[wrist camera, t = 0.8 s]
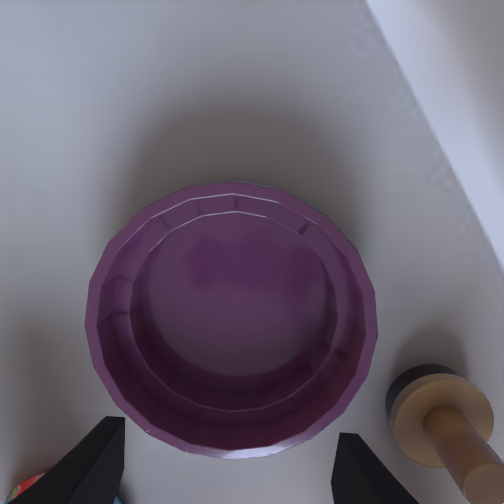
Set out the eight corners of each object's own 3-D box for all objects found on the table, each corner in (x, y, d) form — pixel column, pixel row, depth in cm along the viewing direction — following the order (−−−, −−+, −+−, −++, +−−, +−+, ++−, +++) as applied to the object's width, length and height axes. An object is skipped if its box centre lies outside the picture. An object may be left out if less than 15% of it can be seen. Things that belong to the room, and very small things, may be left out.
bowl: (390, 355, 24) (420, 395, 20) (184, 441, 26) (169, 497, 21) (295, 138, 22) (305, 128, 17) (74, 245, 23) (31, 262, 19)
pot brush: (485, 422, 25) (567, 512, 18) (401, 454, 26) (452, 553, 19) (454, 346, 24) (529, 412, 17) (368, 382, 25) (409, 459, 18)
